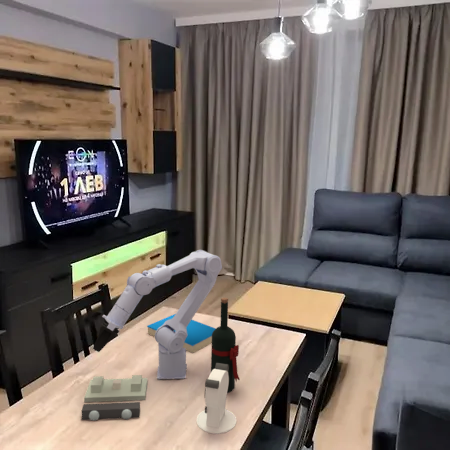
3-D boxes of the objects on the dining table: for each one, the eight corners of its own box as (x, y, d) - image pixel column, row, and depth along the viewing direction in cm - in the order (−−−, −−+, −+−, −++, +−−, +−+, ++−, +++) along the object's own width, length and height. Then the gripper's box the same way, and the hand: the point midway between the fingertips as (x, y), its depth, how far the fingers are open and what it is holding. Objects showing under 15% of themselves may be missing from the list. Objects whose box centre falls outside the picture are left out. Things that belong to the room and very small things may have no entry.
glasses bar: (140, 411, 131) (140, 402, 130) (139, 419, 127) (138, 409, 126) (84, 413, 129) (83, 404, 128) (81, 421, 125) (80, 411, 125)
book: (193, 345, 164) (146, 325, 179) (192, 355, 165) (146, 335, 180) (221, 329, 178) (176, 312, 192) (221, 339, 178) (176, 321, 193)
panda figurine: (204, 404, 134) (205, 358, 131) (241, 411, 132) (242, 364, 128) (190, 429, 123) (191, 379, 120) (230, 437, 120) (231, 387, 117)
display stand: (147, 382, 146) (147, 370, 145) (145, 400, 136) (144, 388, 135) (90, 383, 144) (90, 372, 143) (84, 402, 134) (83, 390, 133)
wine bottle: (229, 399, 137) (232, 307, 131) (205, 387, 144) (206, 298, 137) (245, 388, 143) (248, 300, 137) (221, 377, 149) (223, 292, 143)
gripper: (113, 301, 143) (88, 338, 140) (110, 302, 129) (82, 344, 126) (131, 313, 143) (107, 350, 141) (131, 315, 129) (104, 357, 126)
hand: (97, 348), depth 133 cm, fingers open, 7 cm apart
